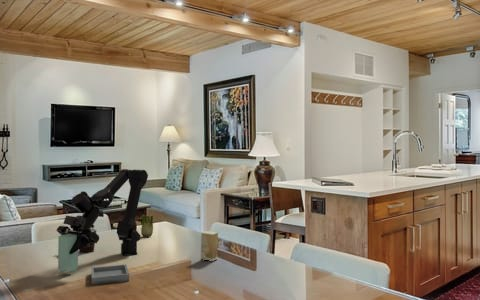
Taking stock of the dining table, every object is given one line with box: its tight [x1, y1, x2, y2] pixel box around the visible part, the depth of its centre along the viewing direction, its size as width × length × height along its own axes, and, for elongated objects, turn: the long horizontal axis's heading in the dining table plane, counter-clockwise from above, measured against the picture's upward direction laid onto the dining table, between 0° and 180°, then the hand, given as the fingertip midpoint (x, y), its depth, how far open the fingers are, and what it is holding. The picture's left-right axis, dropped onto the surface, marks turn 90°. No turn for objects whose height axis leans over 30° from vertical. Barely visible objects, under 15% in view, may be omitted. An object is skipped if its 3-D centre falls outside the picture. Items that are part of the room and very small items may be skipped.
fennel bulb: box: [140, 214, 154, 238], centre depth 220 cm, size 6×5×12 cm
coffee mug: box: [78, 228, 97, 254], centre depth 189 cm, size 12×9×10 cm
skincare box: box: [200, 230, 219, 261], centre depth 176 cm, size 6×4×12 cm
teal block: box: [57, 234, 79, 273], centre depth 155 cm, size 5×5×13 cm
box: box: [91, 263, 130, 286], centre depth 152 cm, size 13×13×2 cm
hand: (65, 252), depth 154 cm, fingers closed on teal block, 5 cm apart
